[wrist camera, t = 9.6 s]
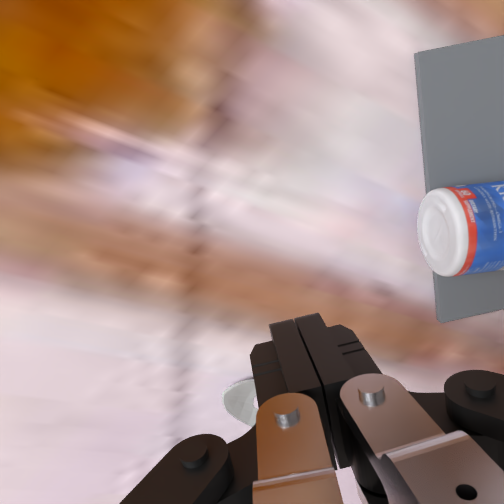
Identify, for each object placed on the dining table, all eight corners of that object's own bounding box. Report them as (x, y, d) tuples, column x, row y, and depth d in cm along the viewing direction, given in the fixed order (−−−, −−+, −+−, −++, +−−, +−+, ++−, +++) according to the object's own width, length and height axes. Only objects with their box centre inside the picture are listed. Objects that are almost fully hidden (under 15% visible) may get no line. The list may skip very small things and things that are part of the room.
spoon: (234, 358, 32) (235, 370, 30) (464, 449, 36) (476, 463, 34) (210, 406, 33) (210, 419, 31) (438, 489, 37) (449, 505, 35)
